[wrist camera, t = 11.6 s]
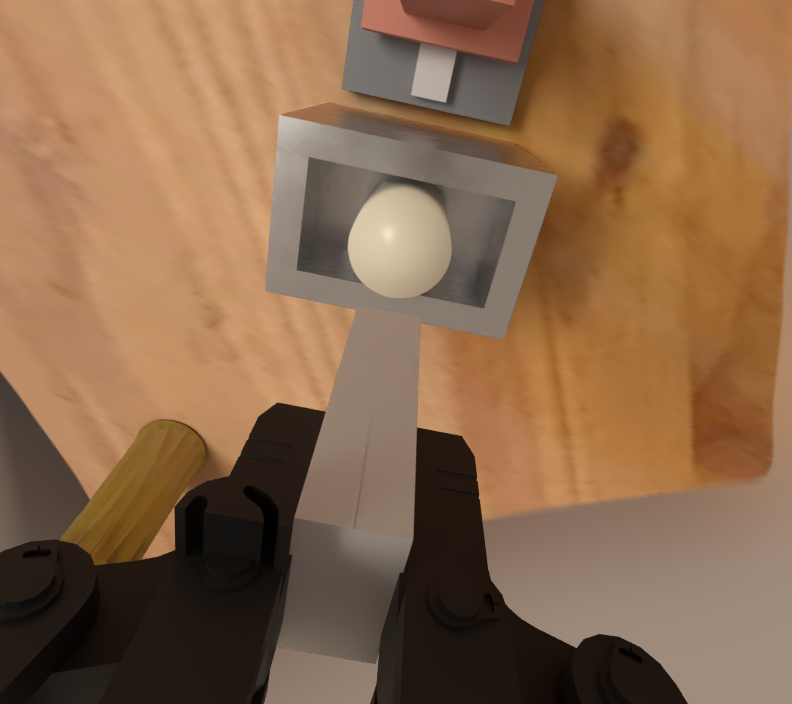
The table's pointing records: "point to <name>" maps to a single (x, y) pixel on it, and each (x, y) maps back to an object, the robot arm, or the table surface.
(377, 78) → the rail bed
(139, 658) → the robot arm
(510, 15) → the carriage
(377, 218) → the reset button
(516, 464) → the table surface
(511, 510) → the table surface
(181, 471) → the vase
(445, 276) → the grey box holder
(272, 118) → the table surface
